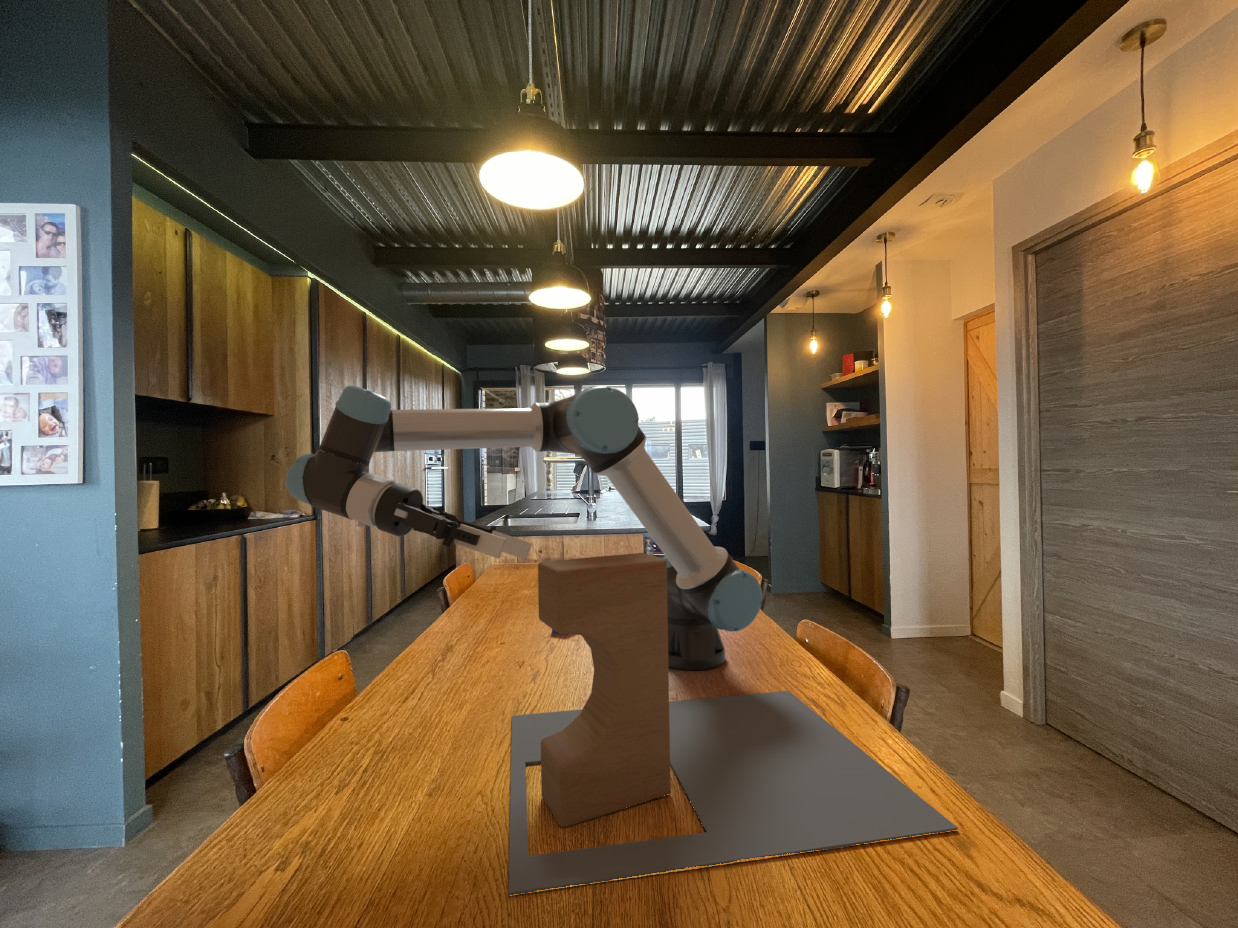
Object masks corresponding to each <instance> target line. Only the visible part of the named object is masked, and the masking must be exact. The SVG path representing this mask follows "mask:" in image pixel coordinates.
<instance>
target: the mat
mask: <svg viewBox="0 0 1238 928" xmlns="http://www.w3.org/2000/svg"><path fill="white" fill-rule="evenodd" d="M582 709H583V708H582ZM582 709H572V710H562V711H561V710H560V711H549V712H538V713H527V714H517V715H515V714H513V715H511V735H510V736H511V742H510V743H511V744H510V745H511V749H510V750H511V751H510V791H509V792H510V795H509V796H510V797H509V800H510V801H509V803H510V805H509V808H510V809H509V810H510V811H509V847H508V848H509V852H508V853H509V854H508V855H509V857H508V858H509V859H508V861H509V862H508V896H509V895H514V894H521V893H528V892H534V891H537V890H545V889H550V888H558V887H566V886H570V885H579V884H590V883H593V882H601V881H609V880H612V879H619V878H627V877H632V876H639V875H645V874H651V873H657V872H659V873H660V872H666V871H669V870H670V871H671V870H676V869H684V868H686V867H688V868H689V867H693V866H694V867H696V866H706V865H707V866H709V865H716V864H720V863H721V864H723V863H729V862H733V861H737V860H741V859H749V858H755V857H756V858H757V857H765V856H772V855H773V856H775V855H782V854H783V855H784V854H787V853H788V854H789V853H790V854H791V853H800V852H807V851H811V850H812V851H813V850H814V851H815V850H823V849H824V850H825V849H833V850H836V849H835V848H839V847H840V849H842V848H841V847H847V846H852V845H853V846H854V845H856V844H864V843H869V842H870V843H871V842H875V841H880V840H888V839H889V840H890V839H892V840H893V839H896V838H901V837H902V838H903V837H910V836H911V837H912V836H915V835H923V834H929V833H931V834H932V833H937V832H938V833H940V832H946V831H950V830H951V831H952V830H957V829H958V830H959V827H958V826H956V824H954V823H953V822H951V821H950V820H949V819H948V818H946V816H945V815H943V814H941V813H940V812H939V811H938V810H936V809H935V808H934V807H933V806H932V805H930V804H929V803H928V802H927V801H926V800H925V799H923V798H922V797H921V796H920V795H918V793H916V792H915V791H913V790H912V789H910V788H909V787H908V786H907V785H906V784H905V783H903V782H902V781H901V780H900V779H899V778H897V777H896V776H895V775H893V773H891V772H890V771H888V770H887V769H886V768H885V767H883V766H882V764H880V763H878V761H876V760H875V759H874V758H873V757H872V756H870V755H869V754H868V753H867V752H865V751H864V750H863V749H861V748H860V747H859V746H858V745H857V744H855V743H854V742H852V740H851V739H849V738H848V737H846V736H845V735H844V734H843V733H841V732H840V731H839V730H838V729H837V728H836V727H834V726H833V725H832V724H830V723H829V722H828V721H827V720H825V719H824V718H823V717H822V716H821V715H820V714H818V713H817V712H815V711H814V710H813V709H812V708H811V707H810V706H808V704H805V702H803V701H802V700H801V699H800V698H798V697H797V695H795V694H793V693H792V692H791V691H790V690H782V691H767V692H760V693H748V694H737V695H727V696H725V695H724V696H716V697H704V698H703V697H702V698H693V699H692V698H691V699H682V700H669V728H670V768H671V769H672V771H673V773H674V775H675V777H676V779H677V778H678V779H677V781H678V780H679V781H678V782H680V783H679V784H681V785H680V787H681V786H682V787H683V788H682V787H681V788H682V790H683V789H684V790H683V792H684V791H685V792H686V794H687V796H688V798H689V800H690V801H691V803H692V805H693V807H694V809H695V811H696V813H695V815H696V814H697V815H698V817H699V819H700V821H701V823H702V825H703V827H704V829H705V831H706V832H705V831H704V832H698V833H690V834H682V835H676V836H668V837H661V838H652V839H644V840H637V841H632V842H622V843H615V844H609V845H601V846H594V847H593V846H592V847H585V848H578V849H571V850H563V851H555V852H548V853H540V854H535V855H534V854H533V855H529V836H528V835H529V834H528V832H529V831H528V805H527V804H528V802H527V800H528V799H527V776H526V773H527V771H526V769H527V768H526V766H527V765H529V766H530V765H538V764H540V765H541V740H542V739H544V738H546V737H548V736H551V735H553V734H555V733H558V732H560V731H562V730H564V729H565V728H566V727H567V726H568V725H569V724H570V723H571V722H572V721H573V720H574V719H575V718H576V717H577V716H579V715H580V713H581V711H582ZM685 792H684V793H685ZM686 794H685V795H686ZM687 796H686V797H687ZM688 798H687V799H688ZM689 800H688V801H689ZM695 811H694V812H695ZM697 815H696V816H697ZM698 817H697V818H698ZM699 819H698V820H699ZM700 821H699V822H700ZM701 823H700V824H701ZM702 825H701V826H702ZM703 827H702V828H703ZM704 829H703V830H704ZM854 847H855V846H854ZM847 848H848V847H847Z"/></svg>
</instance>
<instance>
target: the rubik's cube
mask: <svg viewBox="0 0 1238 928" xmlns="http://www.w3.org/2000/svg"><path fill="white" fill-rule="evenodd" d="M551 633H553V634H559V633H557V632H556V631H554V630H553V629H552V628H551ZM559 635H560V634H559ZM563 635H565V636H569V635H570V634H563Z"/></svg>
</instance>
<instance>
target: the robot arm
mask: <svg viewBox="0 0 1238 928" xmlns="http://www.w3.org/2000/svg"><path fill="white" fill-rule="evenodd" d="M392 407H393V405H392V401H390V400H389V398H387V397H385V396H383V395H381V394H379V393H377V392H374V391H371V390H369V389H366V388H363V387H360V386H356V385H347V386H345V387H344V388H343V390H342V392H341V394H340V395H339V398H338V400H337V401H336V402H335V407H334V409H333V411H332V415H331V418H330V420H329V423H328V424H327V428H326V430H325V432H324V435H323V437H322V440H321V442H320V444H319V446H318V448H317V450H316V452H315V453H305V454H302V455H299V457H297V458H296V459H295V463H293V464H291V465H290V467H289V469H288V471H287V474H286V477H285V485H286V490H287V492H288V494H289V495H290V496H291V497H292V498H294V499H296V500H297V501H300V502H303V503H305V504H307V505H309V506H310V507H311V508H312V507H313V508H315V509H318V510H322V511H325V512H328V513H330V514H333V515H335V516H338V517H339V516H340V517H342V518H345V519H349V520H351V521H354V522H357V527H359V528H364V527H365V525H366V526H368V527H371V528H375V529H376V528H377V529H378V530H380V531H382V532H383V533H386V534H390V535H392V536H395V537H403V536H404V537H405V536H406V535H408V534H409V533H410V532H411V531H412V530H413V531H415V532H419V533H422V534H427V535H429V536H431V537H434V538H435V539H436V540H443V541H442V543H441V545H442V546H446V547H449V548H451V546H452V543H454V544H455V545H458V546H462V547H464V548H467V549H470V550H472V551H475V552H478V553H481V554H484V555H487V556H490V557H493V558H495V559H499V560H500V558H501V556H502V553H504V554H507V555H510V556H513V557H516V558H518V559H522V560H526V561H527V559H528V556H529V554H530V551H531V547H532V545H533V543H532V542H529V541H526V540H523V539H520V538H517V537H514V536H511V535H508V534H506V533H503V532H500V531H497V526H494V525H491V527H490V528H487V527H484V526H481V525H478V524H475V523H472V522H468V521H466V520H463V519H460V518H457V516H456V515H454V514H451V513H449V512H445V511H442V510H441V509H440V508H437V507H435V506H431V505H426V504H424V497H423V494H422V492H421V491H420V490H419V489H418V488H414V487H412V486H409V485H406V484H404V483H400V482H396V481H395V480H393V479H389V478H387V477H384V476H380V475H378V474H375V473H372V472H368V471H367V470H368V467H369V466H370V464H371V459H372V458H373V455H374V453H389V452H407V451H415V452H416V451H434V450H435V451H437V450H438V451H440V450H443V451H444V450H468V449H471V450H473V449H475V450H476V449H498V448H499V449H500V448H501V449H502V448H529V447H530V448H532V450H533V451H535V452H554V453H565V454H572V455H580V456H581V458H582V460H584V462H585V463H586V464H587V466H588V467H589V468H590V470H591V471H592V472H593V474H595V475H596V476H597V475H598V476H603V477H604V476H605V477H606V478H607V479H608V480H609V482H610V483H611V484H612V486H613V487H614V488H615V489H616V491H617V492H618V494H619V495H620V496H621V497H622V499H623V500H624V502H625V503H626V504H627V506H628V508H629V509H630V510H631V511H632V513H633V514H634V515H635V516H636V518H637V519H638V521H639V523H640V524H641V525H642V526H643V527H644V529H645V530H646V532H647V533H648V535H649V536H650V537H651V538H652V540H653V541H654V542H655V544H656V545H657V546H658V548H659V549H660V551H661V552H662V553H663V555H664V556H663V558H664V559H666V560H667V610H668V668H669V669H675V670H681V671H682V670H683V671H703V670H711V669H714V668H717V667H719V666H722V665H723V664H724V663H725V661H726V650H725V649H726V648H725V646H724V643H723V640H722V637H721V634H720V631H719V630H724V631H726V632H738V631H742V630H744V629H746V628H747V627H749V626H750V624H752V623H753V622H754V620H755V619H756V618H757V616H758V614H759V613H760V611H761V604H762V603H761V602H762V600H763V592H762V586H761V584H760V582H759V580H758V579H757V578H756V577H755V576H754V575H753V574H752V573H751V572H748V571H747V570H746V569H741V568H739V566H738V565H737V563H736V562H735V561H734V560H733V557H732V556H731V555H730V554H729V552H728V551H727V549H726V548H724V547H722V546H714V545H713V543H712V542H711V541H710V539H709V537H708V536H707V535H706V533H705V532H704V531H703V529H702V527H701V526H700V524H698V523H697V521H696V519H695V518H694V516H693V515H692V513H691V512H690V511H689V510H688V508H687V507H686V505H685V504H684V503H683V501H682V500H681V499H680V497H679V496H678V494H677V493H676V491H675V490H674V488H673V487H672V485H671V484H670V483H669V481H668V480H667V479H666V477H665V476H664V475H663V472H661V470H660V469H659V468H658V466H657V464H656V463H655V462H654V460H653V459H652V457H651V456H650V455H649V453H648V452H647V450H646V448H645V446H646V441H647V436H646V434H645V433H644V432H643V430H642V429H641V427H640V426H639V420H640V419H639V413H638V410H637V407H636V405H635V404H634V402H633V401H632V400H631V397H629V396H628V395H627V394H625V393H624V392H623V391H621V390H620V389H618V388H615V387H612V386H606V385H604V386H603V385H602V386H600V385H599V386H590V387H588V388H587V387H586V388H585V389H583V390H580V391H579V392H577V393H575V394H573V395H571V396H569V397H565V398H563V399H559V400H556V401H555V400H554V401H549V402H534V403H532V405H531V406H530V407H525V408H523V407H520V408H518V407H516V408H512V407H511V408H503V407H502V408H442V409H441V408H439V409H437V408H433V409H427V408H426V409H424V408H423V409H392ZM453 541H454V542H453Z"/></svg>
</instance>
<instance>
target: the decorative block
mask: <svg viewBox="0 0 1238 928" xmlns="http://www.w3.org/2000/svg"><path fill="white" fill-rule="evenodd" d="M537 573H538V574H537V584H538V585H537V586H538V593H537V595H538V598H537V599H538V619H539V621H540V622H542V623H544V624H545V625H546V626H548V627H549V628H550V629H551V630H552V629H553V630H554V631H556V632H557V633H556V634H558V633H559V635H564V634H569V635H575V636H581V637H582V638H583V640H584V641H585V643H586V644H587V646H588V647H589V649H590V654H591V659H592V666H593V675H592V676H593V677H592V684H591V685H592V686H591V690H590V691H591V692H590V694H589V696H588V698H587V699H586V701H585V703H584V705H583V708H582V711H581V713H580V715H579V716H577V717H576V718H575V719H574V720H573V721H572V722H571V723H570V724H569V725H568V726H567V727H566V728H565V729H564V730H562V731H560V732H558V733H555V734H553V735H551V736H548V737H546V738H544V739H542V740H541V763H540V775H541V776H540V777H541V778H540V779H541V780H540V781H541V784H540V785H541V788H540V790H541V797H542V800H543V801H544V803H545V804H546V805H547V808H548V809H549V811H550V812H551V813H552V815H553V817H554V818H555V820H556V822H557V823H558V825H559V826H560V827H561V828H566V827H570V826H572V825H576V824H579V823H582V822H586V821H589V820H591V819H595V818H599V817H602V816H604V815H609V814H612V813H616V812H618V811H622V810H625V809H627V808H626V807H628V808H630V807H629V806H632V807H634V806H633V805H635V804H638V805H640V804H639V803H641V804H643V803H642V802H645V801H648V800H651V801H653V800H652V799H654V800H656V799H655V798H658V797H661V798H663V797H662V796H664V795H667V794H669V795H670V794H671V793H672V792H671V765H670V728H669V701H670V686H669V685H670V682H669V680H670V679H669V678H670V677H669V675H670V673H669V671H670V670H669V667H668V610H667V560H666V559H664V557H663V558H662V557H661V556H660V557H659V556H655V555H651V554H647V553H645V552H644V553H643V552H637V553H636V552H635V553H627V554H626V553H624V554H615V555H614V554H613V555H604V556H602V555H601V556H589V557H582V558H569V559H568V558H567V559H560V560H547V561H540V562H539V563H538V566H537ZM667 796H668V795H667ZM664 797H665V796H664ZM658 799H659V798H658ZM648 802H649V801H648ZM645 803H646V802H645ZM635 806H636V805H635ZM624 808H625V809H624Z"/></svg>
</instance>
